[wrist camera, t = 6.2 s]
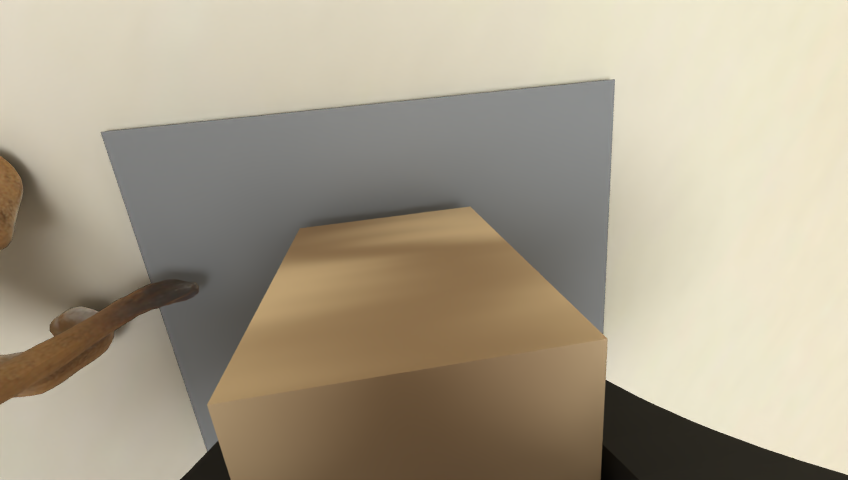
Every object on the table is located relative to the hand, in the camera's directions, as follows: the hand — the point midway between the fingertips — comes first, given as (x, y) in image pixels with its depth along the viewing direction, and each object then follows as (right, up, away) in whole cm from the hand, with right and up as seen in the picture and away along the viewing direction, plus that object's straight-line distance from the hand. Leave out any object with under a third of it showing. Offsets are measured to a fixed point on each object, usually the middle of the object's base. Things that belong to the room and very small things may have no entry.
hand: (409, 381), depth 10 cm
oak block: (0, 0, +1) cm, 1 cm away
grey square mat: (0, +1, +2) cm, 2 cm away
